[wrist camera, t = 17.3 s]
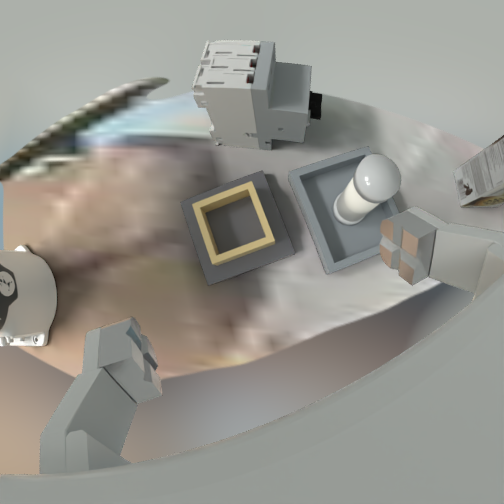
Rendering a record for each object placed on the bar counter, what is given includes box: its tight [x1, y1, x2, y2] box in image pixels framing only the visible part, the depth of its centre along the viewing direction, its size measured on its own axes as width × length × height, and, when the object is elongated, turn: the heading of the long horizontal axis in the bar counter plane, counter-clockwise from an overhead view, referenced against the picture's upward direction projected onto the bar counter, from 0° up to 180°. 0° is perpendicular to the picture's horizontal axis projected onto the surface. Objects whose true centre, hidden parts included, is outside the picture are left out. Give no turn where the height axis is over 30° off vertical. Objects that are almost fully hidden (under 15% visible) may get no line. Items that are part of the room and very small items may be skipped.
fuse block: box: [181, 171, 295, 285], centre depth 39 cm, size 12×12×4 cm
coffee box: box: [454, 135, 504, 207], centre depth 31 cm, size 9×6×16 cm
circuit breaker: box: [192, 40, 322, 150], centre depth 35 cm, size 8×14×15 cm, turn 82°
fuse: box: [332, 154, 401, 226], centre depth 33 cm, size 4×4×14 cm
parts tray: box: [288, 146, 399, 274], centre depth 39 cm, size 12×14×3 cm
